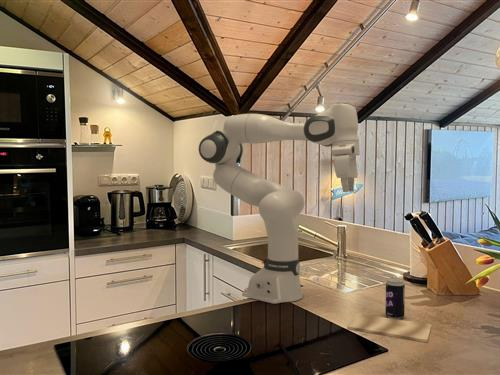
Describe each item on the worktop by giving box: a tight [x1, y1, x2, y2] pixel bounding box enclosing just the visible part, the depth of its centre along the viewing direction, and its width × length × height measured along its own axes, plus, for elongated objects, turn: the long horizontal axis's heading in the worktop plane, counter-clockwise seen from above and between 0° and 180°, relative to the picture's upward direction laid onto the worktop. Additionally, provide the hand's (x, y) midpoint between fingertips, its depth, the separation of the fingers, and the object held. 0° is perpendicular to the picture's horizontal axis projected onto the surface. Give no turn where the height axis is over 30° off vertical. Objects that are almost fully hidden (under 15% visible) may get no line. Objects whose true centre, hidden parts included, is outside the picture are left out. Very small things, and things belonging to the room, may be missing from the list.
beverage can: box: [385, 277, 406, 320], centre depth 136 cm, size 6×6×12 cm
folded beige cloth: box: [347, 312, 432, 344], centre depth 128 cm, size 22×12×1 cm, turn 63°
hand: (348, 191), depth 145 cm, fingers open, 8 cm apart
